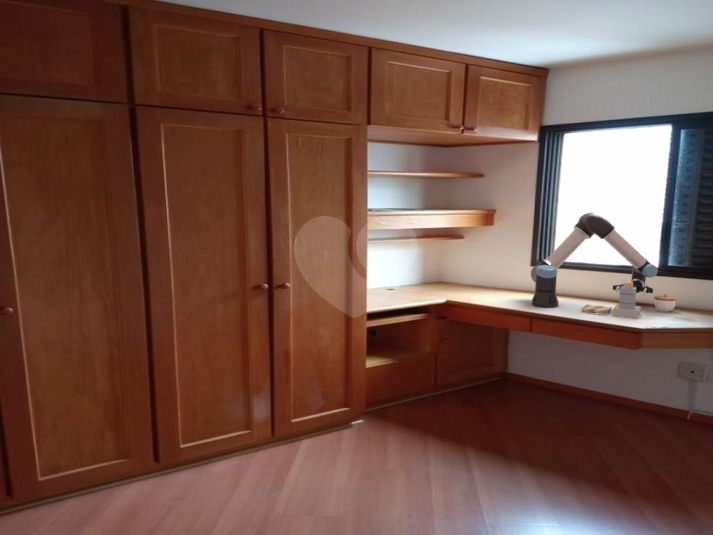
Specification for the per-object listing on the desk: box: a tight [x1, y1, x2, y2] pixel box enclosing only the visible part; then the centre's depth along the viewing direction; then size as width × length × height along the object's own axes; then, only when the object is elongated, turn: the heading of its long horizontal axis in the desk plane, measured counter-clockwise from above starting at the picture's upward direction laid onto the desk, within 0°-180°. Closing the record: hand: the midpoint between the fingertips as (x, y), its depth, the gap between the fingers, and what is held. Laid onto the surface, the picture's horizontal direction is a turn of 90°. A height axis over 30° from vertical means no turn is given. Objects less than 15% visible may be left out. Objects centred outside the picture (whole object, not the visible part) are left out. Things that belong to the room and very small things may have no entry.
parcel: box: [623, 281, 633, 289], centre depth 277 cm, size 4×4×3 cm
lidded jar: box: [653, 293, 677, 312], centre depth 289 cm, size 11×11×9 cm
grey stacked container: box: [618, 286, 637, 309], centre depth 278 cm, size 7×7×11 cm
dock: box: [611, 303, 642, 319], centre depth 279 cm, size 12×14×4 cm
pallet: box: [581, 304, 612, 316], centre depth 286 cm, size 13×13×2 cm
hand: (630, 291), depth 283 cm, fingers open, 13 cm apart
